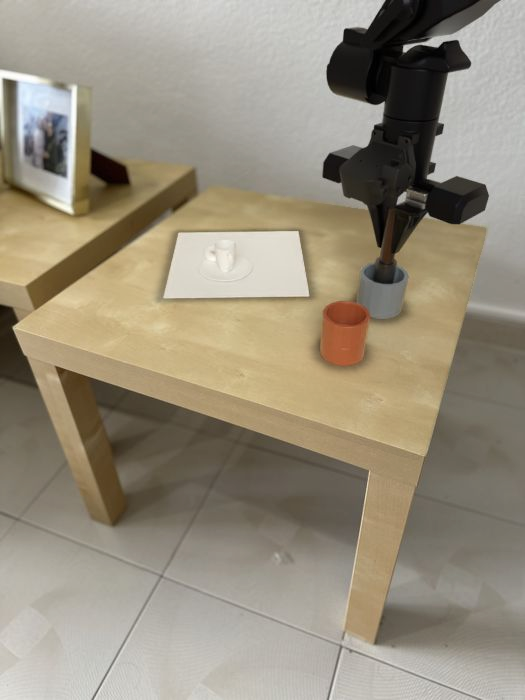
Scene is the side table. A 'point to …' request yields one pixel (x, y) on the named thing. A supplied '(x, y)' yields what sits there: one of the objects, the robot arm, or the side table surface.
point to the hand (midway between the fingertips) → (388, 249)
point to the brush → (386, 251)
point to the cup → (382, 293)
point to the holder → (344, 332)
